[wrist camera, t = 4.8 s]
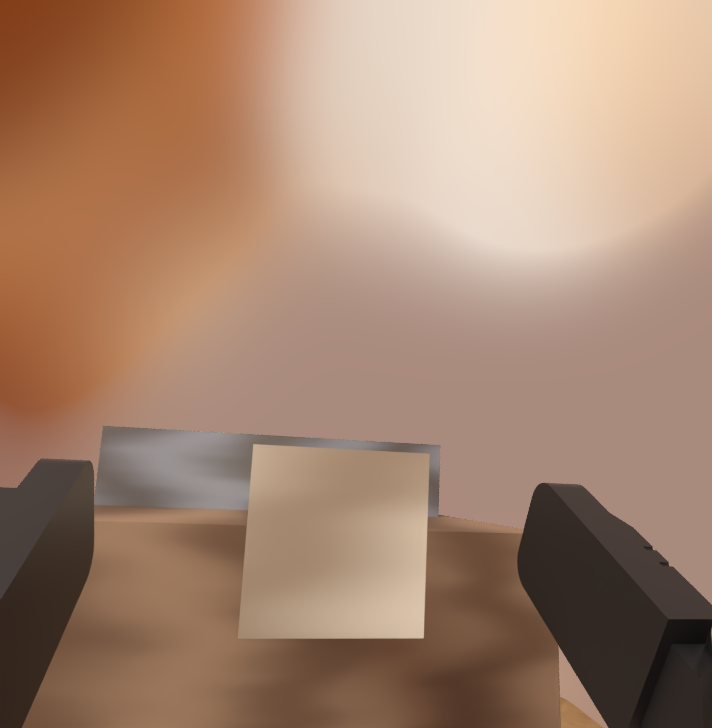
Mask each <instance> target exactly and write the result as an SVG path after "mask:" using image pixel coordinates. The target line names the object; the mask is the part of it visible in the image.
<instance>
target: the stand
mask: <svg viewBox="0 0 712 728" xmlns="http://www.w3.org/2000/svg"><path fill="white" fill-rule="evenodd" d="M247 517H248V510H227V509H198V508H170V507H142V506H114V505H94V552H93V559H92V564H91V568H90V572H89V575H88V578H87V581H86V583H85V585H84V588H83V590H82V592H81V595H80V597H79V599H78V601H77V604H76V606H75V608H74V610H73V613H72V615H71V617H70V620H69V622H68V624H67V626H66V629H65V631H64V633H63V635H62V638H61V640H60V642H59V645H58V647H57V649H56V651H55V654H54V656H53V658H52V660H51V663H50V665H49V667H48V670H47V672H46V674H45V676H44V679H43V681H42V683H41V685H40V688H39V690H38V692H37V695H36V697H35V699H34V701H33V704H32V706H31V708H30V710H29V713H28V715H27V717H26V720H25V722H24V724H23V726H22V728H561V719H560V685H559V651H558V644H557V642H556V640H555V639H554V637H553V635H552V634H551V632H550V631H549V629H548V627H547V626H546V624H545V622H544V621H543V619H542V617H541V616H540V614H539V612H538V611H537V609H536V608H535V606H534V604H533V603H532V601H531V599H530V598H529V596H528V594H527V593H526V591H525V590H524V588H523V586H522V584H521V581H520V578H519V574H518V568H517V556H518V550H519V546H520V542H521V538H522V534H523V530H524V529H519V528H513V527H507V526H501V525H495V524H490V523H484V522H477V521H472V520H466V519H460V518H455V517H449V516H443V515H438V517H428V521H427V552H426V582H425V613H424V638H364V639H238V630H239V617H240V605H241V592H242V580H243V567H244V555H245V542H246V530H247Z"/></svg>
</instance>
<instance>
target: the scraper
mask: <svg viewBox="0 0 712 728" xmlns="http://www.w3.org/2000/svg"><path fill="white" fill-rule="evenodd" d="M439 472H440V445H427V444H409V443H392V442H375V441H374V442H373V441H357V440H339V439H322V438H305V437H286V436H270V435H253V434H234V433H217V432H200V431H182V430H165V429H147V428H130V427H112V426H111V427H110V426H103V431H102V440H101V448H100V457H99V464H98V473H97V482H96V490H95V498H94V505H114V506H142V507H170V508H198V509H227V510H248V517H247V530H246V542H245V555H244V567H243V580H242V592H241V605H240V617H239V630H238V639H364V638H424V613H425V582H426V552H427V521H428V517H438V507H439Z"/></svg>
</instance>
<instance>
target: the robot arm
mask: <svg viewBox="0 0 712 728" xmlns="http://www.w3.org/2000/svg"><path fill="white" fill-rule="evenodd" d="M93 552H94V470H93V465H92V463H91V461H86V460H65V459H64V460H63V459H40V460H39V461H38V462H37V463H36V464H35V466H34V467H33V468H32V469H31V471H30V472H29V473H28V475H27V476H26V477H25V478H24V480H23V481H22V482H21V483H20V485H19V486H18V487H17V488H2V487H0V728H22V726H23V724H24V722H25V720H26V717H27V715H28V713H29V710H30V708H31V706H32V704H33V701H34V699H35V697H36V695H37V692H38V690H39V688H40V685H41V683H42V681H43V679H44V676H45V674H46V672H47V670H48V667H49V665H50V663H51V660H52V658H53V656H54V654H55V651H56V649H57V647H58V645H59V642H60V640H61V638H62V635H63V633H64V631H65V629H66V626H67V624H68V622H69V620H70V617H71V615H72V613H73V610H74V608H75V606H76V604H77V601H78V599H79V597H80V595H81V592H82V590H83V588H84V585H85V583H86V581H87V578H88V575H89V572H90V568H91V564H92V559H93ZM517 568H518V574H519V578H520V581H521V584H522V586H523V588H524V590H525V591H526V593H527V594H528V596H529V598H530V599H531V601H532V603H533V604H534V606H535V608H536V609H537V611H538V612H539V614H540V616H541V617H542V619H543V621H544V622H545V624H546V626H547V627H548V629H549V631H550V632H551V634H552V635H553V637H554V639H555V640H556V642H557V644H558V645H559V647H560V649H561V650H562V652H563V653H564V655H565V657H566V658H567V660H568V662H569V663H570V665H571V667H572V668H573V670H574V672H575V673H576V675H577V676H578V678H579V680H580V681H581V683H582V684H583V686H584V688H585V689H586V691H587V693H588V694H589V696H590V698H591V699H592V701H593V703H594V704H595V706H596V708H597V709H598V711H599V713H600V714H601V716H602V717H603V719H604V721H605V722H606V724H607V726H608V727H609V728H712V605H711V604H710V603H709V602H708V601H707V600H706V599H705V598H704V597H703V596H702V595H701V594H700V593H699V592H698V591H697V590H696V589H695V588H694V587H693V586H692V585H691V584H690V583H689V582H688V581H687V580H686V579H685V578H684V577H683V576H682V575H681V574H680V573H679V572H678V571H677V570H676V569H675V568H674V567H669V565H668V561H667V560H666V559H665V558H664V557H662V555H661V554H660V553H658V552H657V551H655V550H653V549H652V546H651V545H650V544H649V543H648V542H647V541H646V540H645V539H644V538H643V537H642V536H641V535H640V534H639V533H638V532H637V531H636V530H635V529H634V528H633V527H631V526H630V525H628V524H626V523H625V522H623V521H622V520H620V519H619V518H617V517H615V516H613V515H612V514H610V513H609V512H608V511H607V510H606V509H605V508H604V507H603V506H602V505H601V504H600V503H599V502H598V501H597V500H596V499H595V498H594V497H593V496H592V495H591V494H590V493H589V492H588V491H587V490H586V489H585V488H584V487H583V486H581V485H578V484H556V483H541V484H539V485H538V486H537V487H536V489H535V491H534V493H533V496H532V500H531V503H530V507H529V511H528V515H527V519H526V523H525V527H524V530H523V534H522V538H521V542H520V546H519V550H518V556H517Z"/></svg>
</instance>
